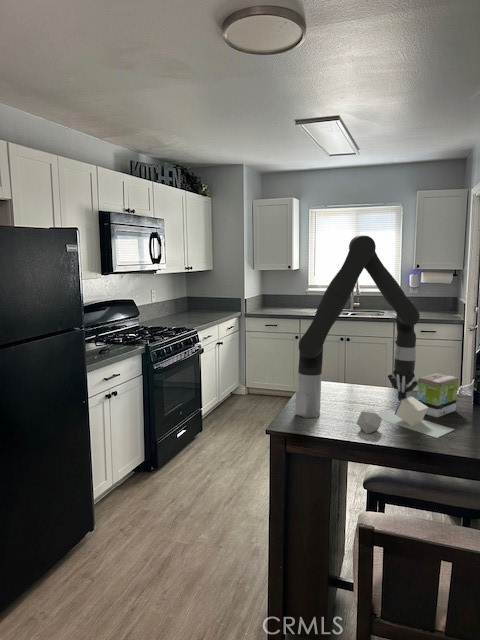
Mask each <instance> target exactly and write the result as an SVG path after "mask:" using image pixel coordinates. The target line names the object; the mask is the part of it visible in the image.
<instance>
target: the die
mask: <svg viewBox="0 0 480 640" xmlns="http://www.w3.org/2000/svg"><path fill="white" fill-rule="evenodd" d="M382 421H383V420H382V418H381V417H380V416H379V415H377V412H376V411H374V410H373V409H372V408H369V409H365V410H362V411H361V412H360V413H359V416H358V419H357V420H356V425H357V426H358V427H359V428H360V429H361V430H362V431H363V432H364V433H366V434H367V435H368V434H371V433H374V432H375V433H376V432H377V431H378V430H380V427H381V424H382Z"/></svg>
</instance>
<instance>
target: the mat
mask: <svg viewBox="0 0 480 640" xmlns="http://www.w3.org/2000/svg"><path fill="white" fill-rule="evenodd" d="M395 412H396V410H392V409H386V410H382V411H381V412H378V413H377V412H376V414H377V415H379V416H380V417H381V418H382V421H383V422H387V423H390V424H393V425H397V426H400V427H402V428H406V429H409V430H412V431H415V432H419V433H421V434H423V435H427V436H428V437H430V438H431V437H432V438H435V439H439V438H441V437H444V436H445V435H447V434H449V433H451V432H455V430H456V429H455V428H452V427H449V426H445V425H442V424H438V423H435V422H432V421H429V420H425V419H423V420H422V422H421V423H419V424H416V425H414V426H411V425H409V424H408V423H406V422H405V421H404V420H402V419H401V418H399V417H398V416H396V415H395Z"/></svg>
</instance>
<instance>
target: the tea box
mask: <svg viewBox="0 0 480 640" xmlns="http://www.w3.org/2000/svg"><path fill="white" fill-rule="evenodd" d="M418 380H419V381H420V383H419V384H418V385H417V393H416V400H418V401H419V402H421V403H422V404H424V405H426V406H427V407H428V409H427V412H426V414H425V415H428V416H431V417H434V418H440V417H442V416H445V415H447V414H450V413H454V412H456V407H457V397H458V389H459V388H458V386H459V377H457V376H452V375H448V374H443V373H440V372H439V373H438V372H436V373H431V374H428V375H424V376H422V377H421V376H420V377H419V378H418Z"/></svg>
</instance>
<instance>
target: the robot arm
mask: <svg viewBox="0 0 480 640" xmlns="http://www.w3.org/2000/svg"><path fill="white" fill-rule="evenodd" d="M376 247H377V246H376V243H375V240H374V239H373V238H372V237H371V236H370V235H365V234H360V235H356V236H354V237H353V238H352V239H351V240H350V242H349V245H348V253H347V256H345V257H346V258H345V259H344V262H343V264H342V265H341V268H340V269H339V270H338V272H336V275H335V276H334V277H333V278H332V280H331V281H330V282H329V284H328V286H327V287H326V290H325V291H324V292H323V295H322V298H321V299H320V302H319V304H318V306H317V309H316V312H315V314H314V317H313V320H312V322H311V323H310V324H309V327H308V329H306V332H305V333H304V334H303V335H302V336H301V338H299V342H298V351H299V362H298V370H297V371H298V372H297V376H298V377H297V390H296V391H295V410H294V411H295V413H294V414H295V415H297V416H299V417H303V418H305V419H310V418H318V417H319V416H320V415H321V396H322V375H323V374H322V372H323V370H322V369H323V356H324V355H323V354H324V344H325V340H326V338H327V337H328V335H329V332H330V330H331V328H332V327H333V325H334V324H335V322H336V321H337V320H338V318H339V317H340V315H341V314H342V311H343V310H344V309H345V307H346V305H347V303H348V301H349V300H350V297H351V295H352V293H353V292H354V290H355V287H356V285H357V282H358V280H359V278H360V275H361V274H362V272H363V271H364V269H365V270H366V272H367V273H368V274H369V276H370V278H371V280H372V281H373V282H374V283H375V286H376V287H377V289H378V291H379V292H380V293H381V295H382V296H383V298H384V300H385V301H386V302H387V304H388V305H389V306H391V307H392V308H393V310H394V311H395V313H396V317H395V321H396V343H395V350H394V364H393V369H394V370H393V371H392V373H390V374H388V375H387V378H388V380H389V381H390V383H391V385H392V387H393V389H395V390H397V399H398V401H399V402H400V400H401V399H403V398H406V397H408V396H407V395H408V394H407V393H410V392H412V391H413V390H414V389H415V388H416V387H418V384H419V383H420V381H419V379H418V380H417V378H416V375H415V368H416V356H417V355H416V353H417V350H416V348H417V347H416V344H417V335H416V334H417V333H416V331H415V325H416V324H418V322H419V321H420V318H421V316H420V315H421V314H420V312H419V310H418V308H417V307H416V306H415V304H414V303H413V302H412V301H411V300H410V299H409V297H408V296H407V295H406V294H405V292H404V290H403V289H402V287H401V286H400V285H399V283H398V282H397V280H396V279H395V278H394V276H393V275H392V273H390V272H389V270H388V269H387V268H386V266H384V264H383V263H382V261H381V260H380V258H379V256H378V254H377V251H376V249H377V248H376ZM410 383H411V384H410Z"/></svg>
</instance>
